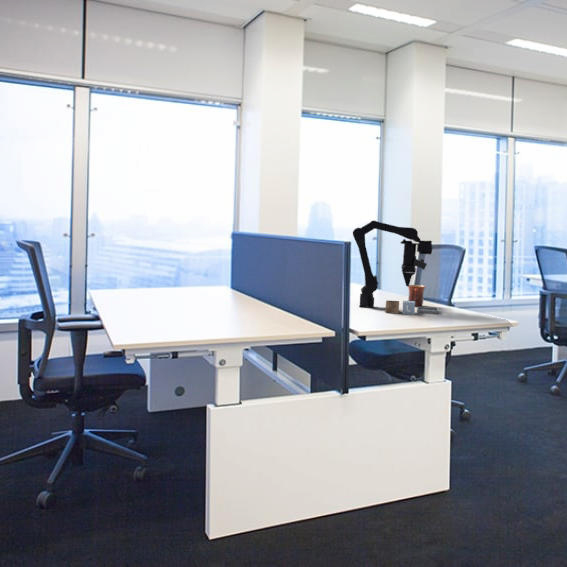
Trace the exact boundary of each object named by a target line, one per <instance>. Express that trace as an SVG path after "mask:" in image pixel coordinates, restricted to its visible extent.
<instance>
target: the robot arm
mask: <svg viewBox="0 0 567 567" xmlns="http://www.w3.org/2000/svg"><path fill="white" fill-rule="evenodd" d="M373 230H380V231H383V232H388V233H391V234H395V235H398V236H401V237H403V239H402V240H401V241H400V244H401V245H403V246H404V247H403V254H402V257H403V259H402V264H401V268H400V269H401V272H402V276H403V280H404V283H405V286H406V287H408V286H409V285H410V283H411V280H412V277H413V276H414V275H415V274H416V271H417V269H416V267H418V268H419V269H421V270H426V267H427V264H428V263H427V262H425V260H424V259H422V258H420V259H418V258H417V256H416V254H417V253H416V252H418V254H419V255H427V256H428V255H430V256H431V255H432V253H433V244H432V242H433V241H432V240H421V238H420V237H419V232H418V230H417V229H416V228H415V227H408V226H407V227H404V226H397V225H393V224H388V223H384V222H382V221H377V220H371V221H370V222H368V223H367V224H365V225H363V226H362V227H355V228H354V229H353V231H352V236H353V240H354V241H355V243H356V245H357V248H358V252H359V255H360V260H361V263H362V264H361V265H362V269H363V272H364V284H365V285H363V287H361V288H360V292H361V293H360V294H359V306H358V307H360V308H373V307H374V306H375V296H374V293H375V292H376V291H377V290H378V285H379V283H378V279H377V278H378V276H377V274H373V270H372V268H371V263H370V259H369V256H368V255H369V254H368V250H367V247H366V235H368V233H370V232H371V231H373ZM406 239H408V240H406Z"/></svg>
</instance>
